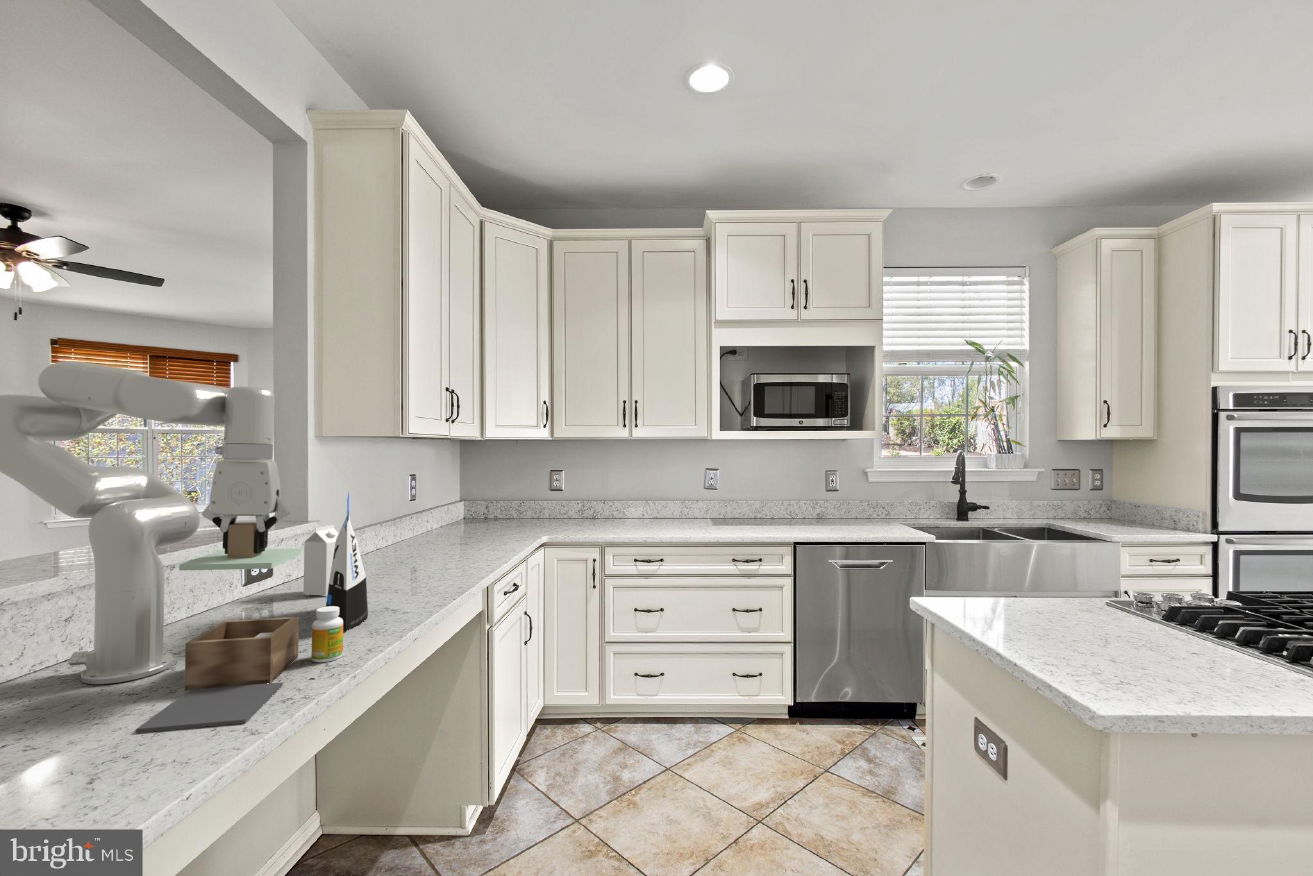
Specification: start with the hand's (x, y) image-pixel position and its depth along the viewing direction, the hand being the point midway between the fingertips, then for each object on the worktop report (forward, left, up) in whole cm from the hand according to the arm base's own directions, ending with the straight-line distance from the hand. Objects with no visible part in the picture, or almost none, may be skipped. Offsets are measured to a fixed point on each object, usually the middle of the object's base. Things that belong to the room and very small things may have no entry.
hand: (245, 551), depth 107 cm
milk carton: (-5, +60, -22) cm, 64 cm away
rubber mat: (+2, -15, -22) cm, 27 cm away
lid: (0, 0, -2) cm, 2 cm away
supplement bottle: (+13, +5, -22) cm, 26 cm away
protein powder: (+9, +33, -22) cm, 41 cm away
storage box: (0, 0, -22) cm, 22 cm away
